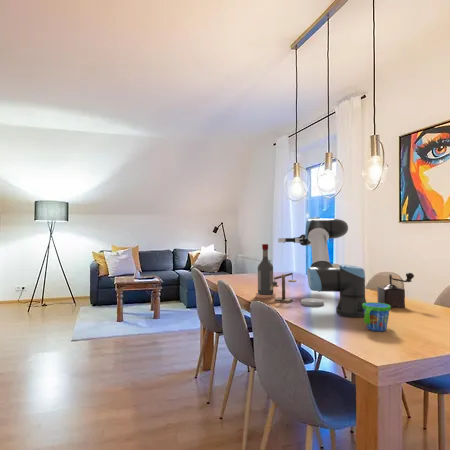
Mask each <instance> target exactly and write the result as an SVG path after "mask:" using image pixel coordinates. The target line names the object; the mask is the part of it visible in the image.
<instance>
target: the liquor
mask: <svg viewBox="0 0 450 450" xmlns="http://www.w3.org/2000/svg"><path fill="white" fill-rule="evenodd" d="M261 249H262V259H261V262H260V263H259V264H258V266H257V293H258V294H259V295H273V293H274V287H271V285H273V282H274V265H273V263H271V261H270V260H269V251H268V250H269V244H268V243H264V244H263V243H262V244H261Z"/></svg>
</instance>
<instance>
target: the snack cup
mask: <svg viewBox="0 0 450 450" xmlns="http://www.w3.org/2000/svg"><path fill="white" fill-rule="evenodd" d="M362 307H363V309H364V314H365V316H364V317H363V322H364V324H365V325H366V329H367V330H370V331H371V332H372V331H373V332H386V331H387V329H388V323H389V316H390V311H391V306H390V305H388V304H384V303H378V302H367V303H363V304H362Z"/></svg>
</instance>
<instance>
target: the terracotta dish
mask: <svg viewBox="0 0 450 450" xmlns="http://www.w3.org/2000/svg"><path fill="white" fill-rule="evenodd" d="M276 296H277V295H276V293H275V292H273V295H259V294H258V292H256V293H255V298H256V299H260V300H272V299H273V300H274V299H275V298H277V297H276Z"/></svg>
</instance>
